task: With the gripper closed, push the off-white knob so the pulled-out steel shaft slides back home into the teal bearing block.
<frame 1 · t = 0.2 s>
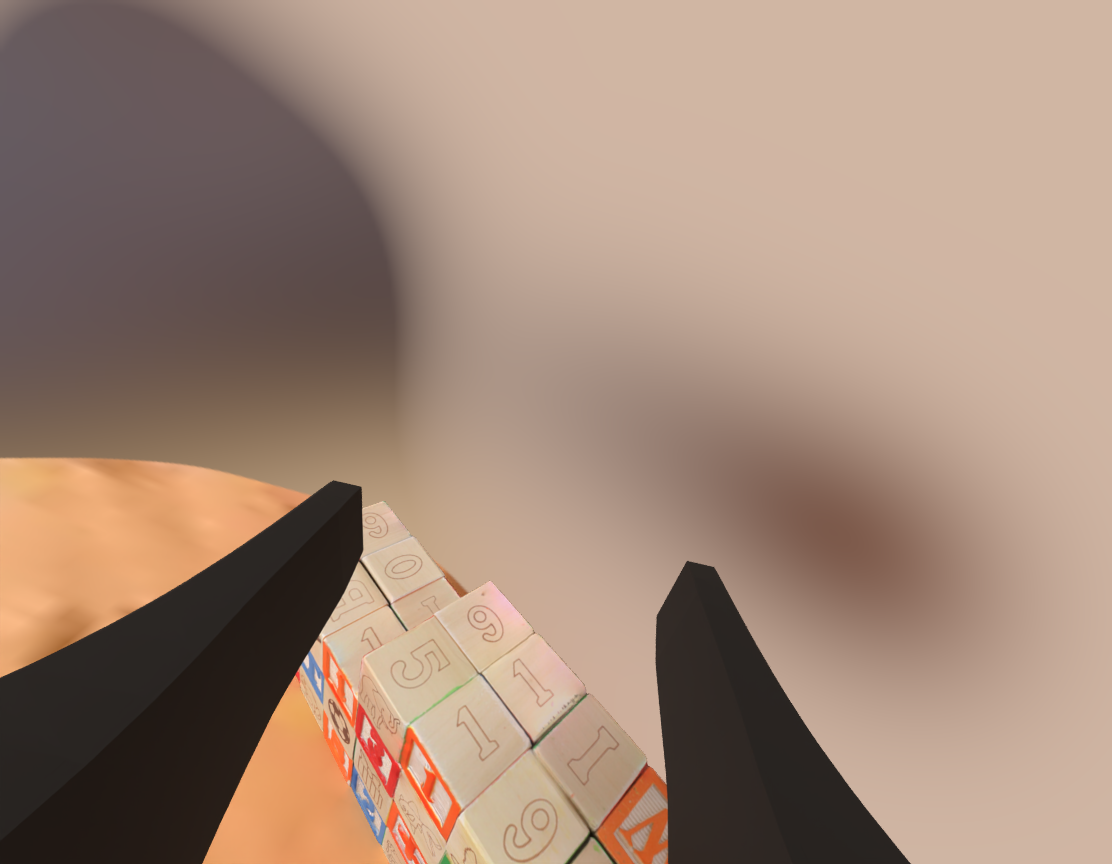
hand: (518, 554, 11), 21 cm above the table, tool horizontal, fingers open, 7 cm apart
stack of blocks: (419, 775, 26), on the table
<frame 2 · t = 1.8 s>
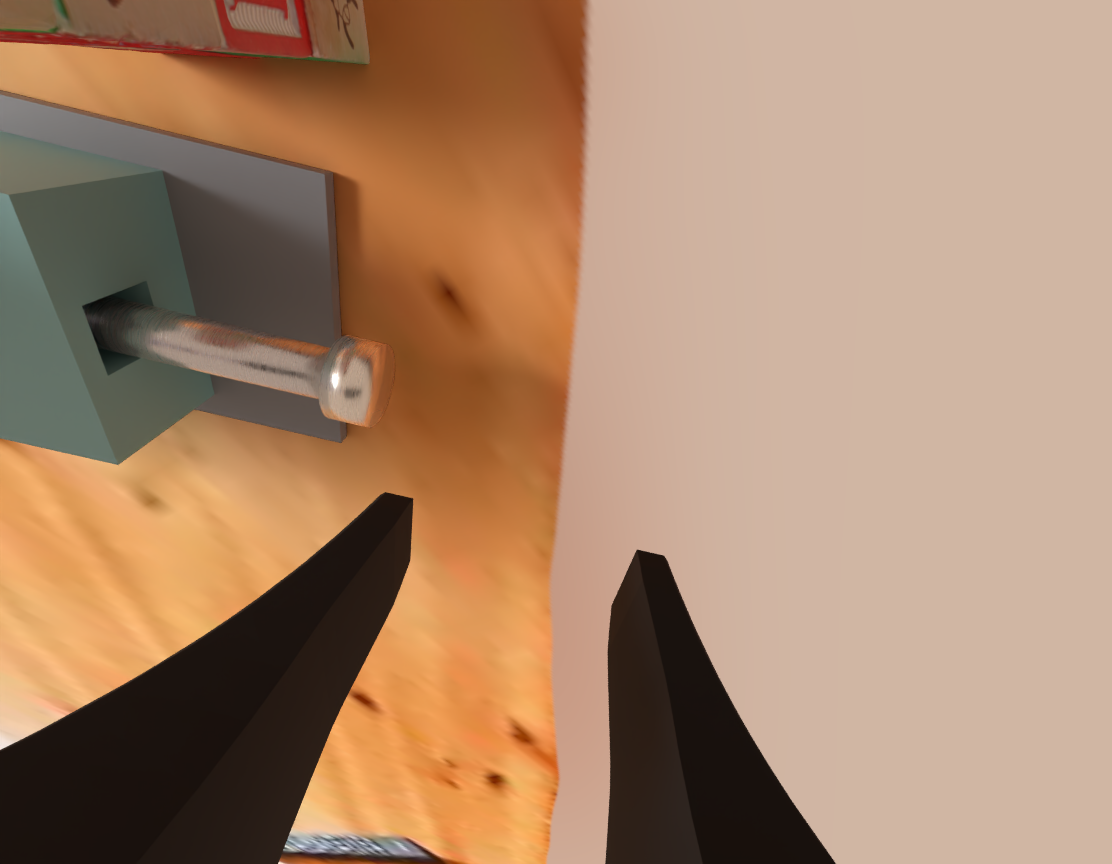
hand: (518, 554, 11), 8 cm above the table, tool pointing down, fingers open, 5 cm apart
shaft: (205, 345, 15), point 3 cm above the table, slide at 4.0 cm
bearing block: (117, 272, 17), on the table
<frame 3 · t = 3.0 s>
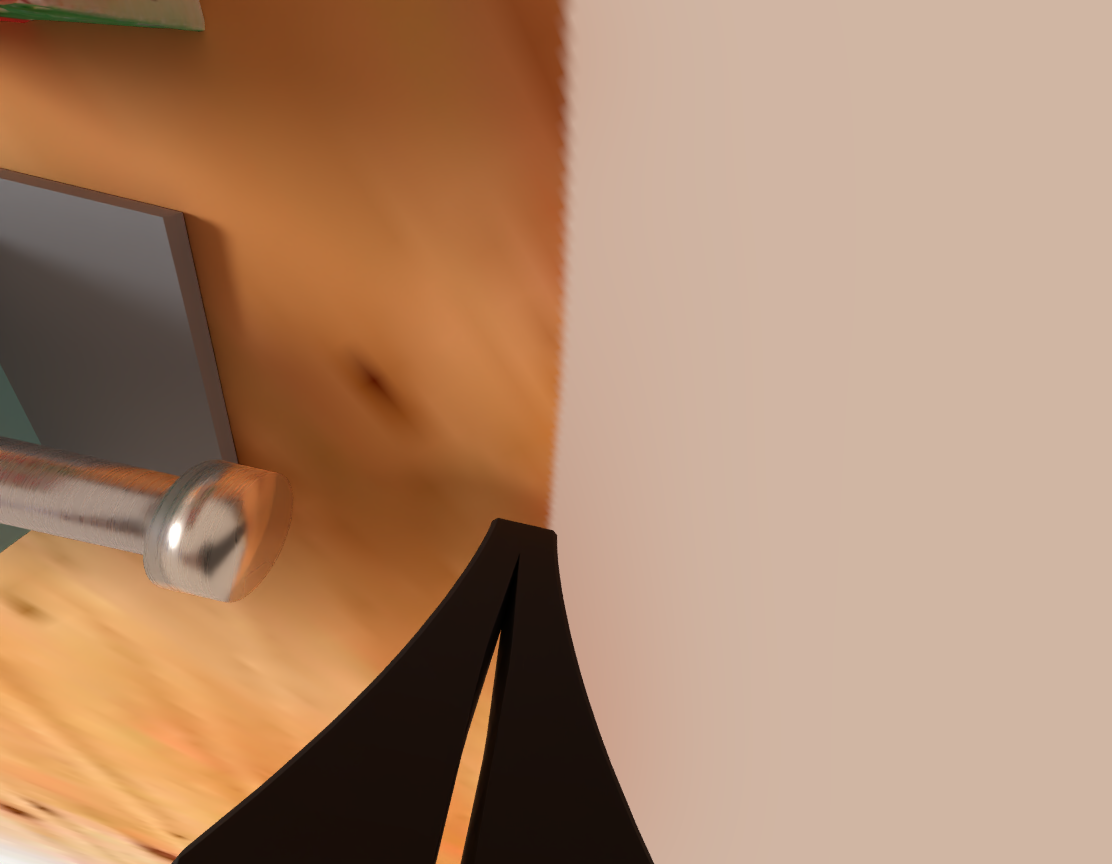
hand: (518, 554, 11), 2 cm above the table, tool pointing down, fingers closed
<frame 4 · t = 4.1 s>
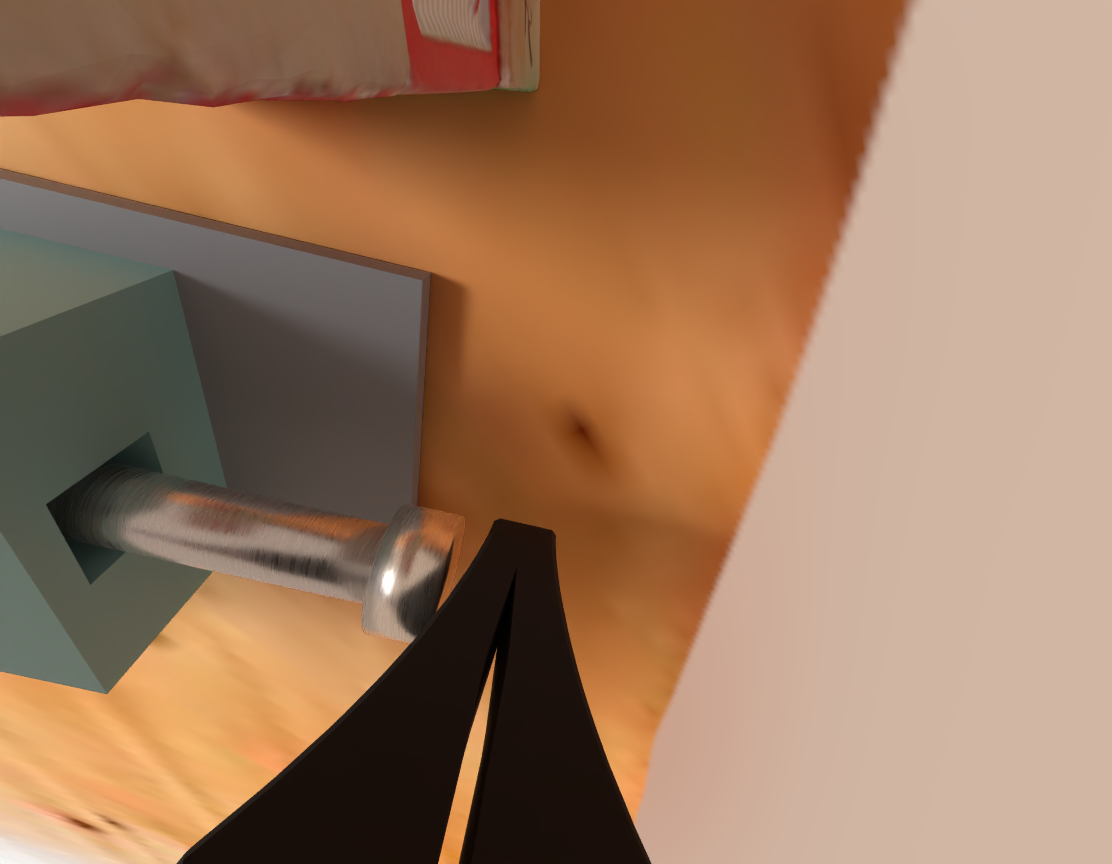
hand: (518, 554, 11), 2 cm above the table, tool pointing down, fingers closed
shaft: (186, 520, 10), point 3 cm above the table, slide at 3.0 cm, touching gripper
bearing block: (108, 392, 12), on the table
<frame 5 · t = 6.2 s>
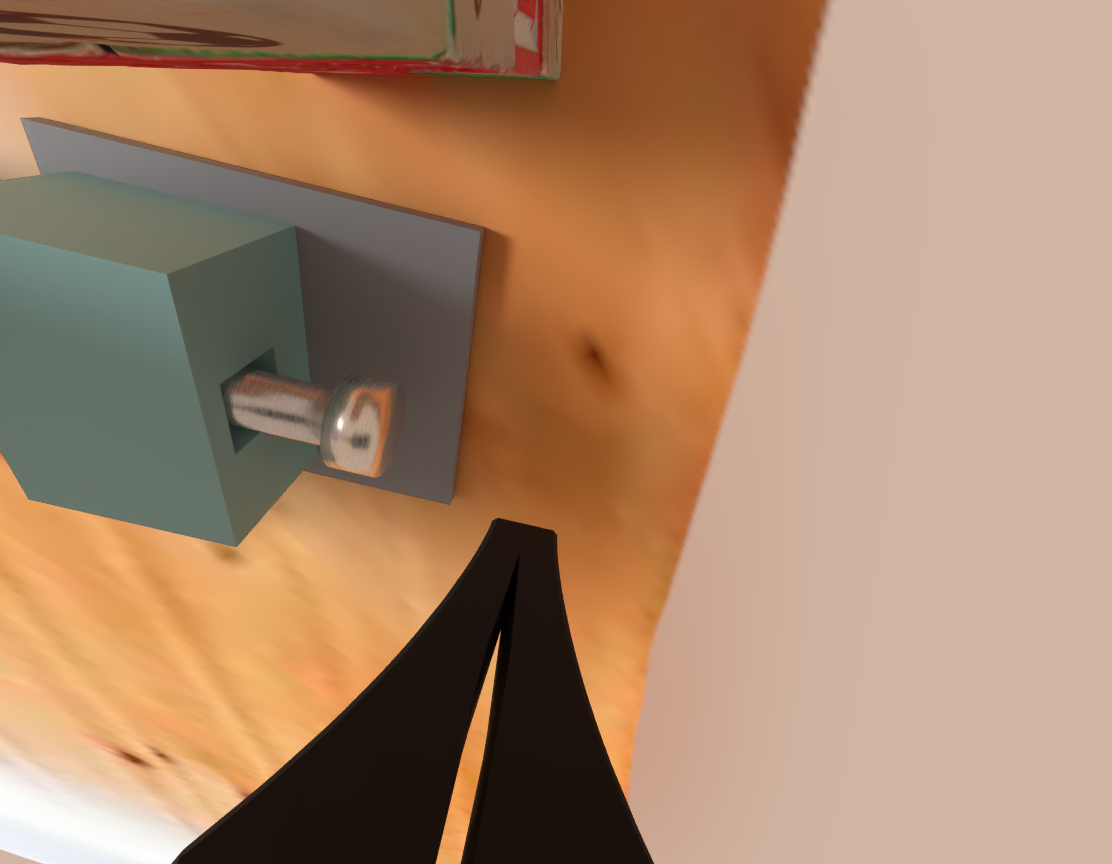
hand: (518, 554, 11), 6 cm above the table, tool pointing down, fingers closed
shaft: (193, 385, 13), point 3 cm above the table, slide at 0.0 cm
bearing block: (224, 327, 16), on the table
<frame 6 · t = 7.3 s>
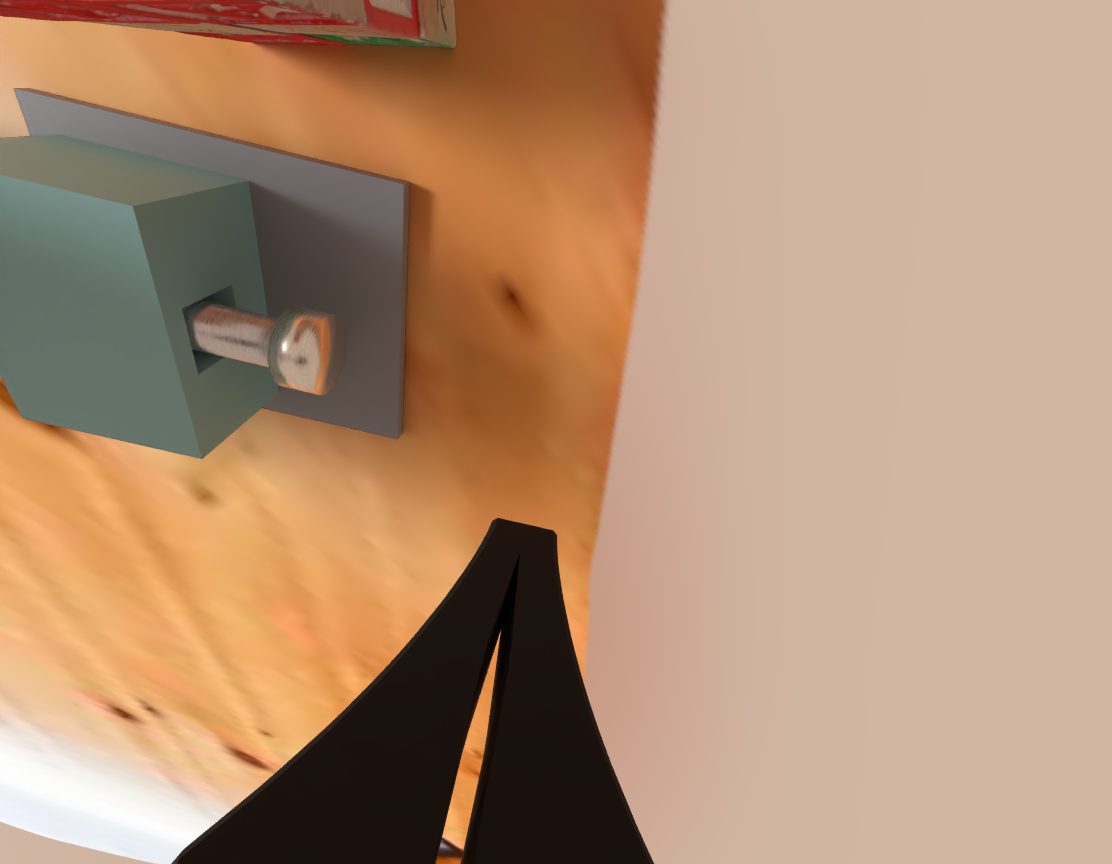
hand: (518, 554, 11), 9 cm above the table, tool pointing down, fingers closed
shaft: (163, 316, 16), point 3 cm above the table, slide at 0.0 cm
bearing block: (193, 276, 18), on the table
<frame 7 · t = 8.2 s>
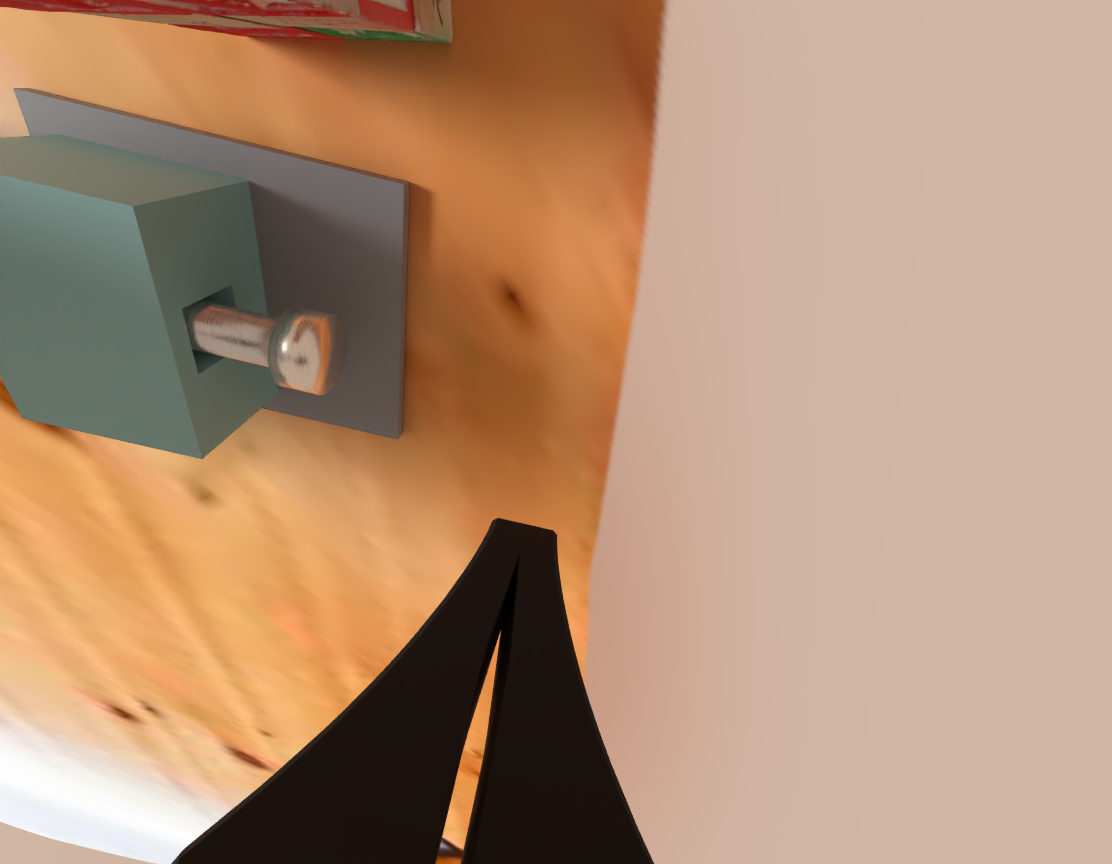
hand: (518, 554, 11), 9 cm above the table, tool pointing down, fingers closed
shaft: (163, 316, 16), point 3 cm above the table, slide at 0.0 cm
bearing block: (193, 276, 18), on the table
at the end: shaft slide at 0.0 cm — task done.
